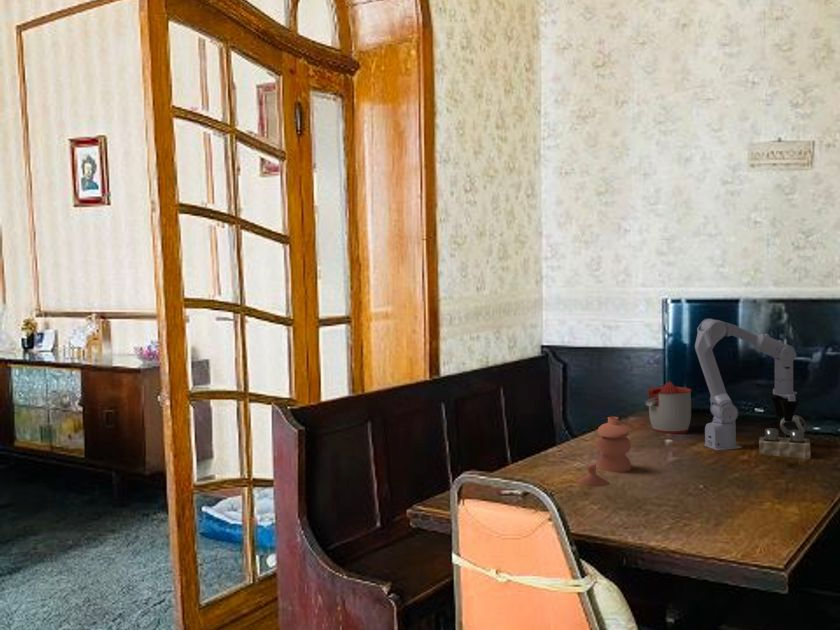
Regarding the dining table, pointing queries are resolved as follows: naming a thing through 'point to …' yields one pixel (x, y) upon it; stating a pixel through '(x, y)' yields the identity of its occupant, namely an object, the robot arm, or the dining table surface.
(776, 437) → the steel peg
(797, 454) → the press block
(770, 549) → the dining table surface
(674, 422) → the citrus juicer
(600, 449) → the ceramic vessels
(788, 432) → the watch
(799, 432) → the steel peg
